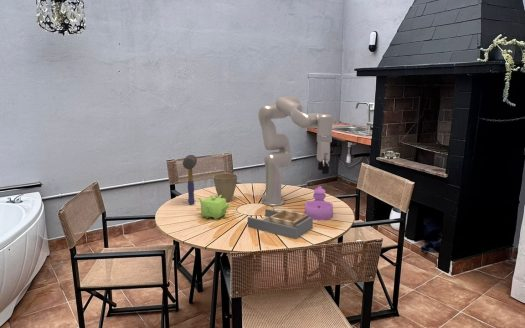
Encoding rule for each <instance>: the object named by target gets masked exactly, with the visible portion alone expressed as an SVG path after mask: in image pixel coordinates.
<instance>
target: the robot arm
mask: <svg viewBox="0 0 525 328" xmlns="http://www.w3.org/2000/svg"><path fill="white" fill-rule="evenodd" d="M257 115H258V116H257V118H258V121H259V125H260V128H261V133H262V140H263V144H264V148H265V150H267V151H271V152H269V153H267V154H266V155H265V156H264V159H263V161H264V162H263V163H264V169H265V194H261V196H260V198H261V199H263V201H262V203H263V205H265V206H270V207H279V206H282V205H284V204H285V201H284V200H283V199H282V178H283V177H282V172H281V171H280V168H283V167H288V166H290V165H291V163H292V157H293V156H292V151H291V145H290V139H289V138H288V136H287V135H286V134H285V133H277V127H276V125H275V123H274V122H273V121H272V120H274V119H285V118H287V117H290V119H291V121H292V123H293V124H295V126H297V127H300V128H301V129H314V128H315V129H316V142H317V146H316V147H317V148H316V159H317V162H318V165H317V170H318V171H321V173H322V174H323V175H328V174H329V172H330V159H331V143H332V141H333V115H332V114H327V113H326V114H324V113H320V112H317V113H313V112H312V113H311V112H310V113H305V112H303V105H302V104H301V102H300V99H299V98H298V97H296V96H294V95H293V96H292V95H289V96H288V95H287V96H286V95H284V96H279V97H277V98H276V100H275V102H274V104H264V105H262V106H261V107H260V108H259V110H258V114H257ZM275 150H276V151H275ZM277 150H278V151H277ZM272 151H274V152H272Z"/></svg>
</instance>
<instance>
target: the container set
mask: <svg viewBox="0 0 525 328" xmlns="http://www.w3.org/2000/svg"><path fill="white" fill-rule="evenodd" d="M312 195H313V198H314V200H310V201H309V200H308V201H306V202H305V203H304V214H307V215H308V218H309V217H312V219H313V221H314V220H315V221H327V220H330V219H332V218H333V214H334V213H333V209H334V205H333V203H331V202H330V201H327V200H326V201H325V199H326V197H327V196H326V195H327V194H326V189H324V188H322V186H321V185H318V186H317V188H315V189H314V190H313V194H312Z"/></svg>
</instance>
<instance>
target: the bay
mask: <svg viewBox="0 0 525 328" xmlns="http://www.w3.org/2000/svg"><path fill="white" fill-rule="evenodd" d="M279 212H280V211H279V210H275V209H269V208H265V209H264V215H265V216H263V217H261V218H256V217H251V216H247V227H248V228H252V229H255V230H258V231H263V232H266V233H271V234H273V235H274V234H276V235H279V236H282V237H287V238H290V239H295V240H297V239H298V238H300V237H302V236H303V235H304V234H306V233H307V232H309V231H310V230H312V229H313V228H314V225H313V224H314V219H312V217H309V218H307V219H305V220H304V221H302V222H300V223H299V224H297V225H295V227H291V226H286V225H282V224H278V223H273V222H269V217H271V216H273V215H275V214H277V213H279Z"/></svg>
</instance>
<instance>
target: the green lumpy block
mask: <svg viewBox="0 0 525 328" xmlns="http://www.w3.org/2000/svg"><path fill="white" fill-rule="evenodd" d="M221 196H222V195H220V196H219V197H218V196H217V197H216V196H207V197H206V198H204V199H202V198H201V197H197V199H198V201H199V202H200V211H201V213H200V215H201V216H202V217H204V218H205V219H210V218H213V219H214V220H219V218H221V217H223V216H224V215H225V214H227V209H229V208H230V207H231V205H230V204H229V203H227V202H226V199H224V198H221Z"/></svg>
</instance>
